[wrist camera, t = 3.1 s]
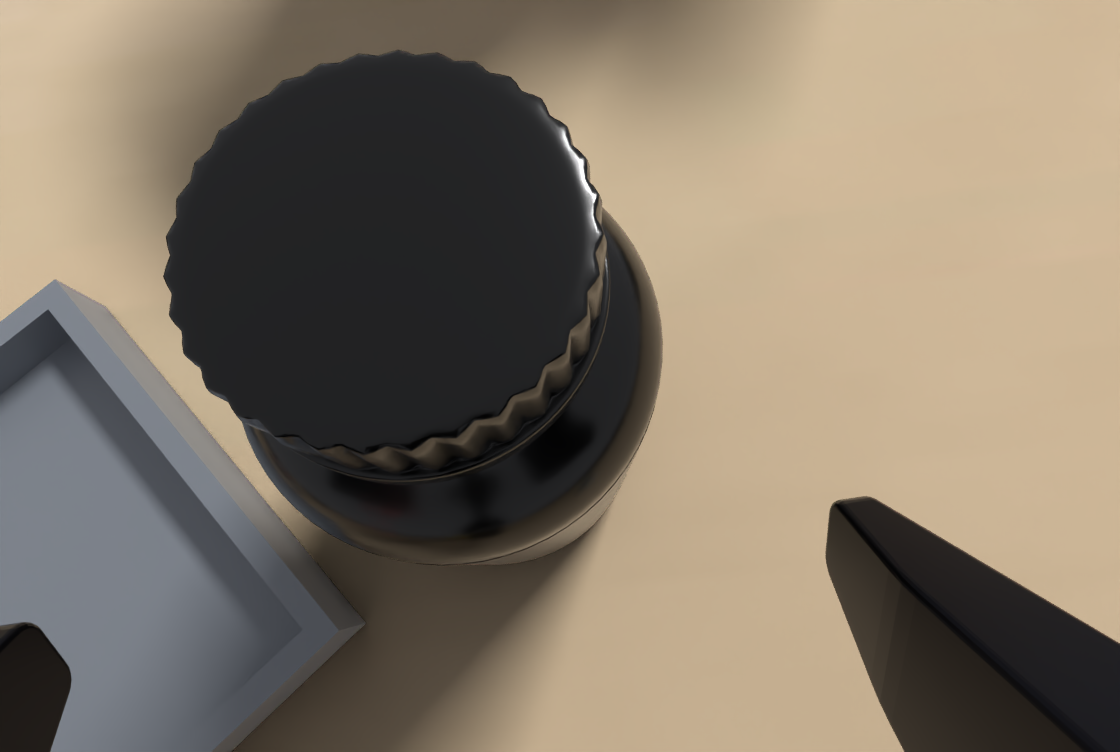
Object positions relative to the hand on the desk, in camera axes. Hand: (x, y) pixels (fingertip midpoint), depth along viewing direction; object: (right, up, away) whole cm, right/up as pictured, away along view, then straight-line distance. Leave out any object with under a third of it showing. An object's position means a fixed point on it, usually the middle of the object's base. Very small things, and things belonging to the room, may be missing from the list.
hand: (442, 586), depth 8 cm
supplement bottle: (0, +1, +11) cm, 11 cm away
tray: (-12, -4, +10) cm, 16 cm away
